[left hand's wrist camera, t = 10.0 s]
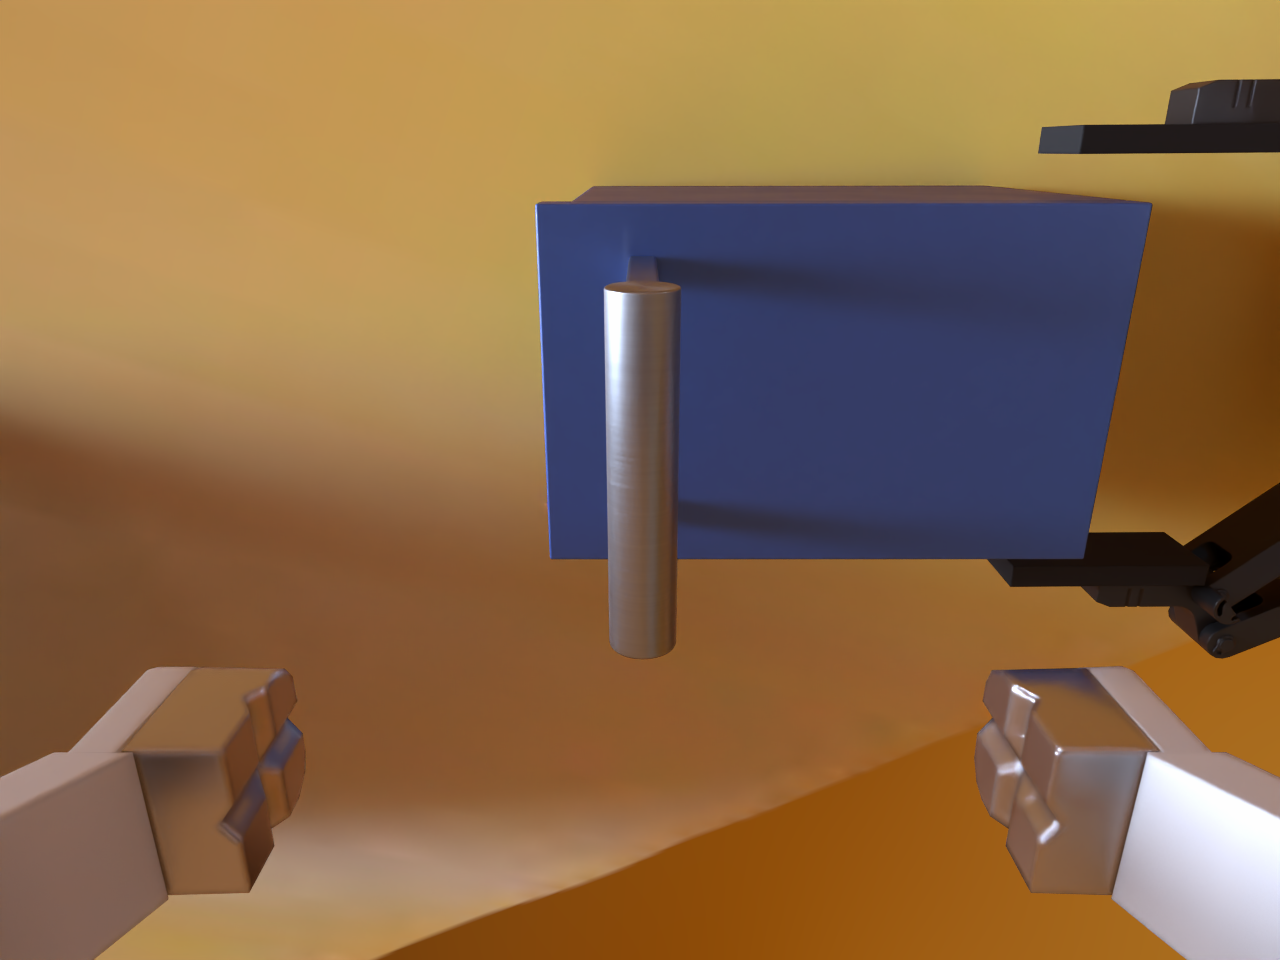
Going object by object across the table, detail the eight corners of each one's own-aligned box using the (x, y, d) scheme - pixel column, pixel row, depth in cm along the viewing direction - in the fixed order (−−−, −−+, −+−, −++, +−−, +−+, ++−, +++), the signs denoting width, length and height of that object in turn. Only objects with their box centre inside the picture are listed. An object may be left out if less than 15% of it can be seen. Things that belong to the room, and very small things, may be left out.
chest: (596, 438, 36) (579, 543, 26) (591, 186, 33) (569, 201, 23) (952, 438, 36) (1066, 543, 26) (985, 185, 33) (1130, 200, 23)
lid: (553, 544, 26) (516, 705, 19) (539, 201, 23) (488, 227, 15) (1067, 544, 26) (1241, 706, 19) (1131, 200, 23) (1377, 225, 15)
